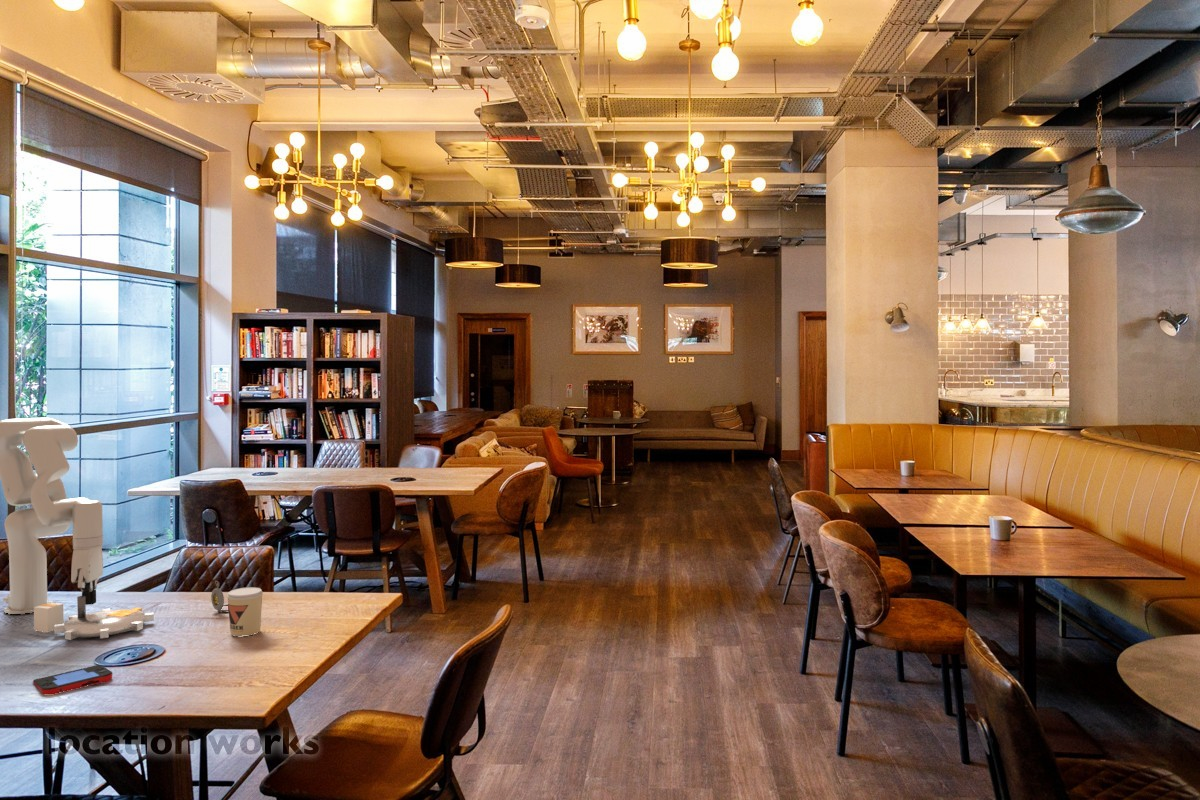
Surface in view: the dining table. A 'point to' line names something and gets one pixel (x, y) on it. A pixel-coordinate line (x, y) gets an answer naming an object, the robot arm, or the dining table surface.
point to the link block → (48, 616)
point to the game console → (73, 679)
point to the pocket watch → (218, 598)
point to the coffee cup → (245, 610)
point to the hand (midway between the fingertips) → (89, 603)
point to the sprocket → (102, 622)
